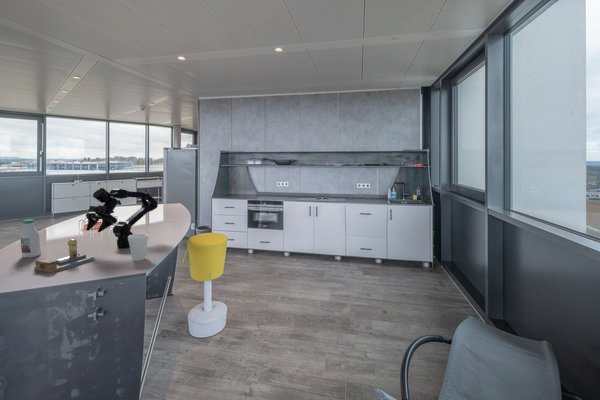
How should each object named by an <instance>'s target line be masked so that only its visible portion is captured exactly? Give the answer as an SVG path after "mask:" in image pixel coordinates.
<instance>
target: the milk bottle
mask: <svg viewBox="0 0 600 400" xmlns="http://www.w3.org/2000/svg"><path fill="white" fill-rule="evenodd" d="M22 225H23V228H22V230H21V233H20V247H21V249H20V250H21V256H22V258H23V259H28V258H35V257H36V258H37V257H39V256H41V254H42V251H41V240H40V232H39V231H38V230H37V228H36V226H35V219H32V218H31V219H30V218H29V219H24V220H22Z"/></svg>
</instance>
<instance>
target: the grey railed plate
mask: <svg viewBox="0 0 600 400" xmlns="http://www.w3.org/2000/svg"><path fill="white" fill-rule="evenodd" d="M77 255H78V257H74V258H71V259H68V260H64V261H61V262H59V263H57V262H56V260H58V259H59V258H58V259H55V260H52V259H46V258H40V259H36V260H35V266H34V267H33V270H34V271H38V272H43V273H49V274H54V273H58V272H61V271H63V270H67V269H70V268H73V267H76V266H80V265H83V264H85V263H89V262H92V261H95V257H94V256H90V255H87V254H80V253H77ZM63 258H65V257H63Z"/></svg>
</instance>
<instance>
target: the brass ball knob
mask: <svg viewBox="0 0 600 400" xmlns="http://www.w3.org/2000/svg"><path fill="white" fill-rule="evenodd" d="M77 245H78V241H77V240H76V239H73V238H72V239H69V240H68V241H67V246H68V254H69V255H68V256H66V257H65V258H64V257H61V258H58V260H57V259H55V260H56V262H57V263H59V262H61V261H64V260H68V259H71V258H74V257H78V255H77V254H78V247H77Z"/></svg>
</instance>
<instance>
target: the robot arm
mask: <svg viewBox="0 0 600 400" xmlns="http://www.w3.org/2000/svg"><path fill="white" fill-rule="evenodd" d="M92 197H93V198H94V199H95V200H97V201H99V202H100V203H101V204H103V205H100V204H99V205H97V206H95V205H90V206H89V208H88V212H86V214H85V217H86V219H87V226H86V228H85V229H86V231H87V232H88V231H90V230H91V229H92V228H94V226H96V225H97V224H98V223H99V221H100V220H101V224H100V226H99V228H98V229H97V233H101V232H103V231H104V230H106V229H108V228H109V227H110V226H113V228H112V233H113V234H114V237H115V238H117V239H116V245H117V246H116V247H117V249H125V248H130V245H129V241H128V236H129V235H133V232H132V231H131V229H132V227H133V226H134V225H135V224H136V223H137V222H139V221H140V220H141V219H142V218H143V217H144V216H145V215H146V214H147V213H149V212H153V211H154V210H156V209H157V208H158V202H157V200H156V199H155V198H154V197H153V196H152V195H150V193H149V192H147V191H129V190H127V189H123V188H112V189H111V190H110V191H107V190H106V189H105V188H104V187H100V188H99V189H97V190H96V191H94V192H93V194H92ZM127 198H136V199H137V198H139V199H140V201H141V207H140V208H139V209H138V210H136V212H135V213H133V214H132V215H130V216H129V217H128V218H127V219H126V220H124V221H121V220H120V221H118V218H116V217H115V216H113V214H114V213H115V211H114V210H115V208H116V206H118V205H119V206H121V205H122V202H121V200H122V199H127Z"/></svg>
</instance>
